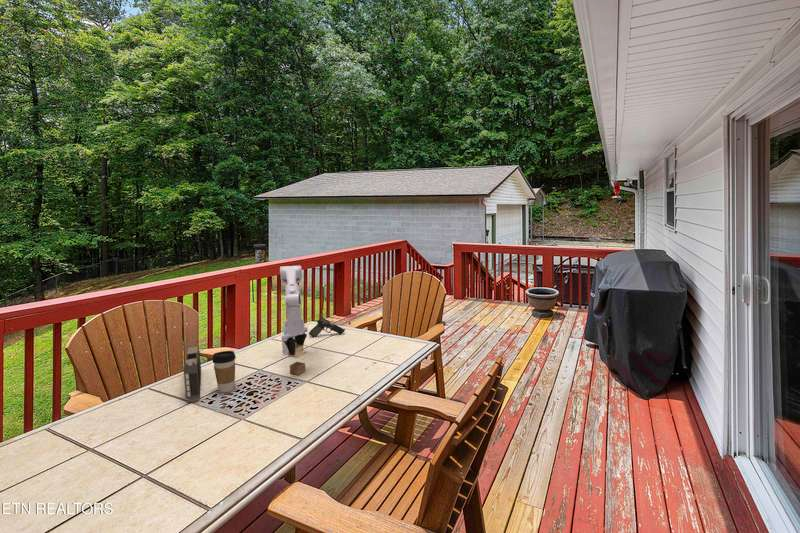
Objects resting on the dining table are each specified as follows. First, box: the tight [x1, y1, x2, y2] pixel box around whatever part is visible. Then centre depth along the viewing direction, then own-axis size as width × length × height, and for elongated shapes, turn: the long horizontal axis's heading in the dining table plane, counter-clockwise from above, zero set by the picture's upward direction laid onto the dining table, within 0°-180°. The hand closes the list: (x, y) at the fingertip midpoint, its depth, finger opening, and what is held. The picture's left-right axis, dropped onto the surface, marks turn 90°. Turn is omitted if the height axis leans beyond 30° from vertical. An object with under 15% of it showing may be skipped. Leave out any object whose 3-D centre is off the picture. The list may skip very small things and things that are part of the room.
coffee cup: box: [211, 350, 236, 394], centre depth 159 cm, size 8×8×15 cm
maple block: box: [287, 344, 305, 359], centre depth 172 cm, size 4×4×4 cm
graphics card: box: [182, 346, 202, 404], centre depth 163 cm, size 33×5×14 cm, turn 25°
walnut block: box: [289, 361, 306, 377], centre depth 173 cm, size 4×4×4 cm
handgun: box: [308, 316, 346, 338], centre depth 228 cm, size 17×2×12 cm
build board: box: [287, 370, 309, 378], centre depth 175 cm, size 14×11×1 cm
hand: (296, 352), depth 173 cm, fingers closed on maple block, 4 cm apart
